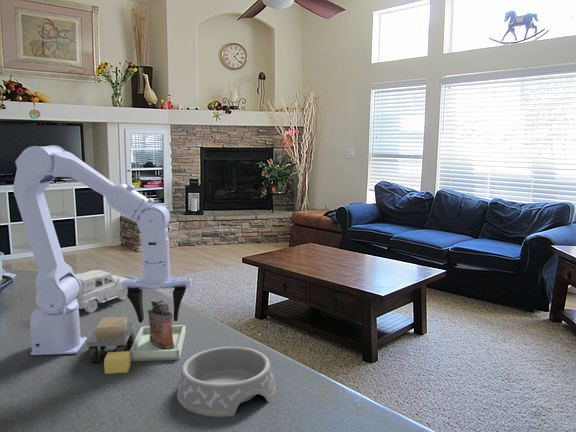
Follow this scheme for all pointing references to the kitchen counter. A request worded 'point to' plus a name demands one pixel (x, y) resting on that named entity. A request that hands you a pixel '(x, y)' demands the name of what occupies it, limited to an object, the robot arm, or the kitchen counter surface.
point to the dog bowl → (224, 380)
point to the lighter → (160, 325)
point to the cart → (110, 336)
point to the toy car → (99, 289)
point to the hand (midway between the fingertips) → (158, 320)
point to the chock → (117, 362)
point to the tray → (149, 352)
